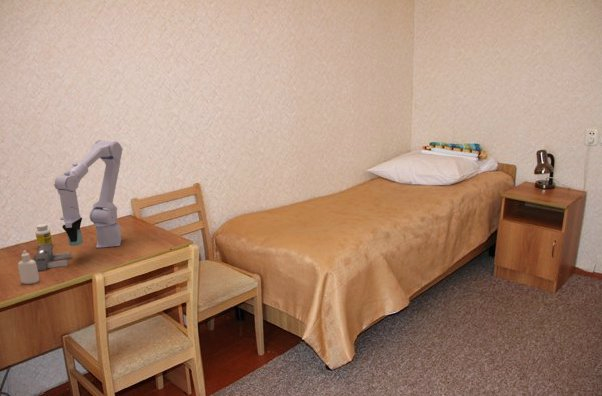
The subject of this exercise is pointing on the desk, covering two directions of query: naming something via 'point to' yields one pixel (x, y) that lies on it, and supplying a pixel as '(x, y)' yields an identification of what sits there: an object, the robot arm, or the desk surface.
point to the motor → (49, 258)
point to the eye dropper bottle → (28, 269)
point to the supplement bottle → (43, 235)
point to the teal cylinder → (79, 239)
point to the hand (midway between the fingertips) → (75, 239)
